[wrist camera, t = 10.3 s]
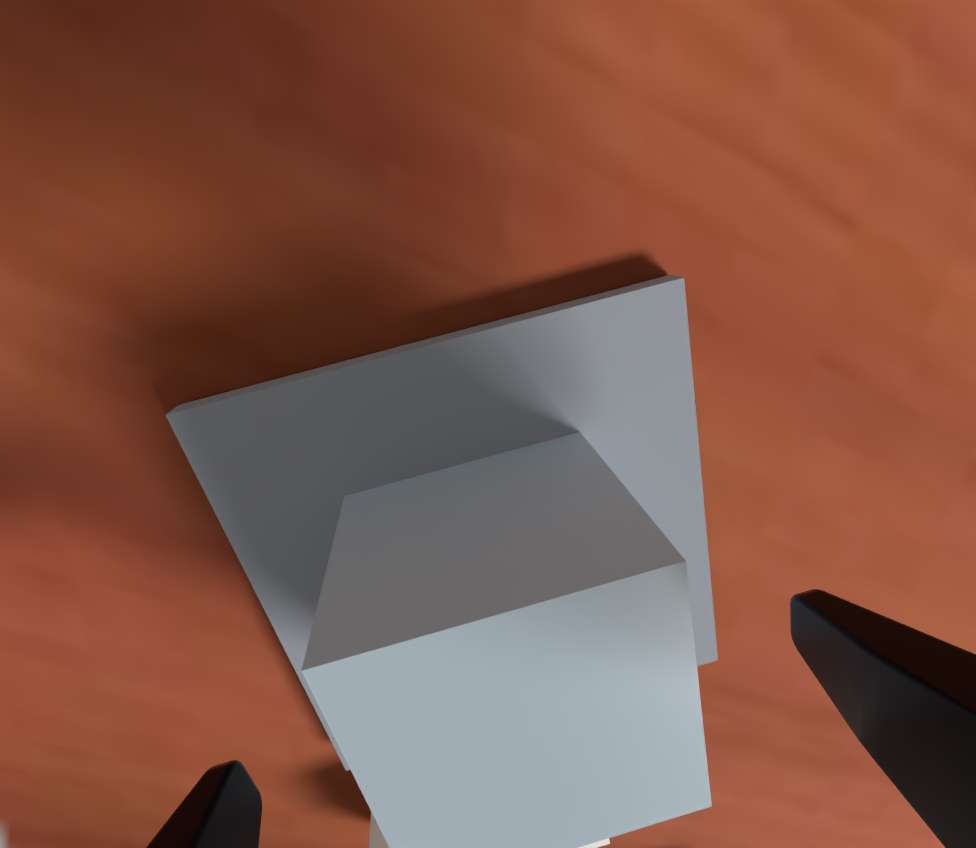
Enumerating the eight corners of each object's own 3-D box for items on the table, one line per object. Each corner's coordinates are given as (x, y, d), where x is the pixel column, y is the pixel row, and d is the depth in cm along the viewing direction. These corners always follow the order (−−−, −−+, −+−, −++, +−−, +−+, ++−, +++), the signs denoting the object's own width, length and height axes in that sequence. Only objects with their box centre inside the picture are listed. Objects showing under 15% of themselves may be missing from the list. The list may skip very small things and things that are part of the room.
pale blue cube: (413, 673, 12) (414, 897, 8) (344, 495, 11) (301, 670, 6) (613, 615, 13) (711, 806, 9) (580, 431, 11) (685, 560, 7)
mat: (348, 749, 14) (345, 770, 13) (178, 404, 10) (165, 415, 10) (705, 643, 14) (717, 660, 14) (669, 274, 11) (684, 277, 10)
